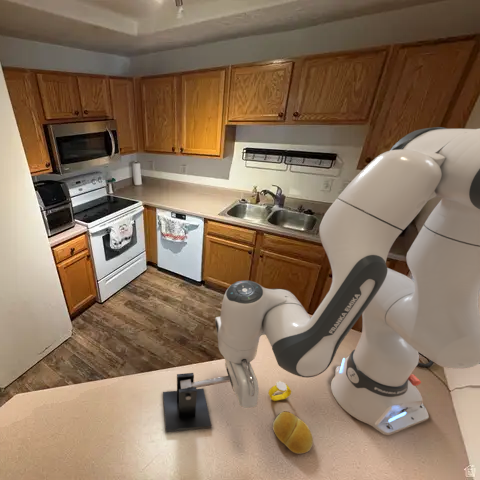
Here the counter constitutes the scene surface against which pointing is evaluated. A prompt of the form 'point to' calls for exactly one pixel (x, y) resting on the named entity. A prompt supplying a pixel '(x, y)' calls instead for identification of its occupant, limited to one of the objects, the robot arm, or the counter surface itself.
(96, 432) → the counter surface
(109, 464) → the counter surface
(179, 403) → the bracket
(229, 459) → the counter surface
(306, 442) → the bread roll
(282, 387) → the watch
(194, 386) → the lever
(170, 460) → the counter surface
